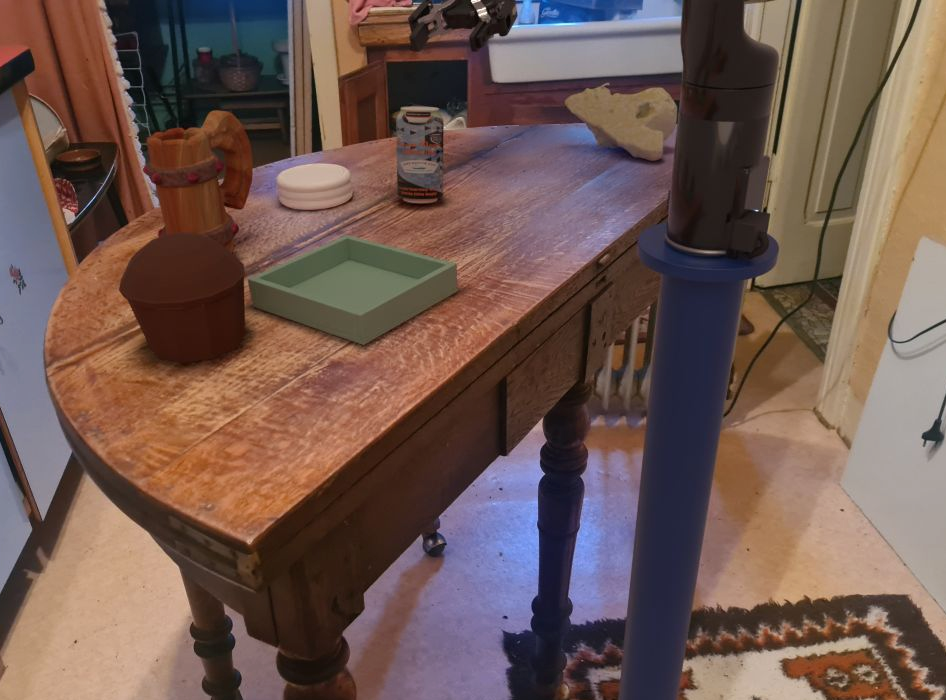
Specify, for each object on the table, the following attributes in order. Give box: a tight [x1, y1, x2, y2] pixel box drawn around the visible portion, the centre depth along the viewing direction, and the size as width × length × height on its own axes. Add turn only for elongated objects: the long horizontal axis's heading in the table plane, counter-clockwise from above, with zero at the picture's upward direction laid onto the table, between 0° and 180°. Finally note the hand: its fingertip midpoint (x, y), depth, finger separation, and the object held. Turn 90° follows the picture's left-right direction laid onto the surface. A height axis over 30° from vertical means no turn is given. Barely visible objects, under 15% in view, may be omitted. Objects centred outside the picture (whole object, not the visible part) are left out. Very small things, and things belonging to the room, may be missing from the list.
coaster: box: [275, 163, 354, 211], centre depth 115 cm, size 10×10×4 cm
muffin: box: [118, 233, 246, 364], centre depth 79 cm, size 12×11×10 cm
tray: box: [247, 234, 459, 346], centre depth 88 cm, size 16×15×3 cm
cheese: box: [564, 82, 678, 162], centre depth 129 cm, size 15×7×15 cm
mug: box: [142, 109, 254, 254], centre depth 97 cm, size 15×8×15 cm, turn 151°
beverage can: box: [395, 105, 445, 204], centre depth 111 cm, size 6×7×12 cm
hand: (443, 45), depth 112 cm, fingers open, 8 cm apart
